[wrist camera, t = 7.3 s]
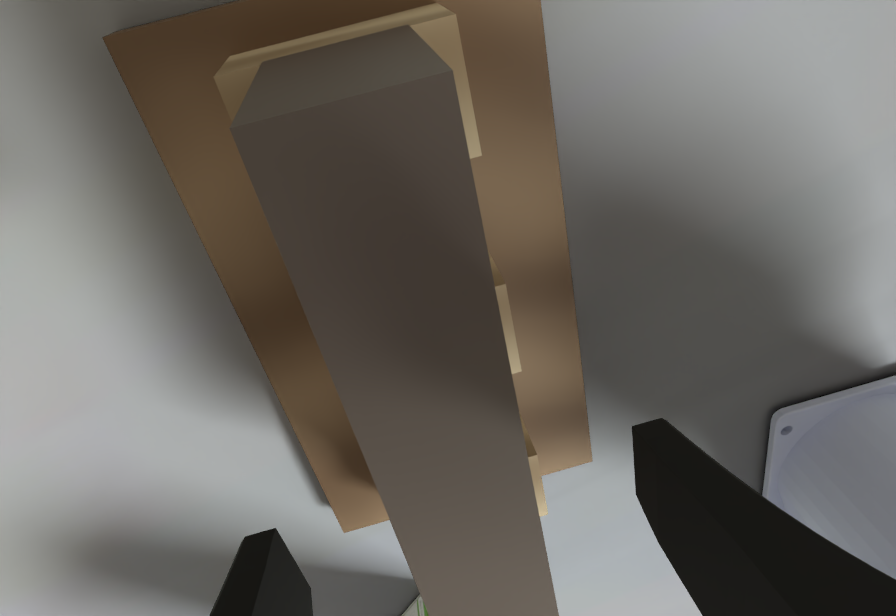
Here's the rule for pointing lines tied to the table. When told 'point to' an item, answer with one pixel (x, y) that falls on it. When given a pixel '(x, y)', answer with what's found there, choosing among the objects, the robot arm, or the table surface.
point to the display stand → (495, 175)
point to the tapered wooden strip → (403, 305)
